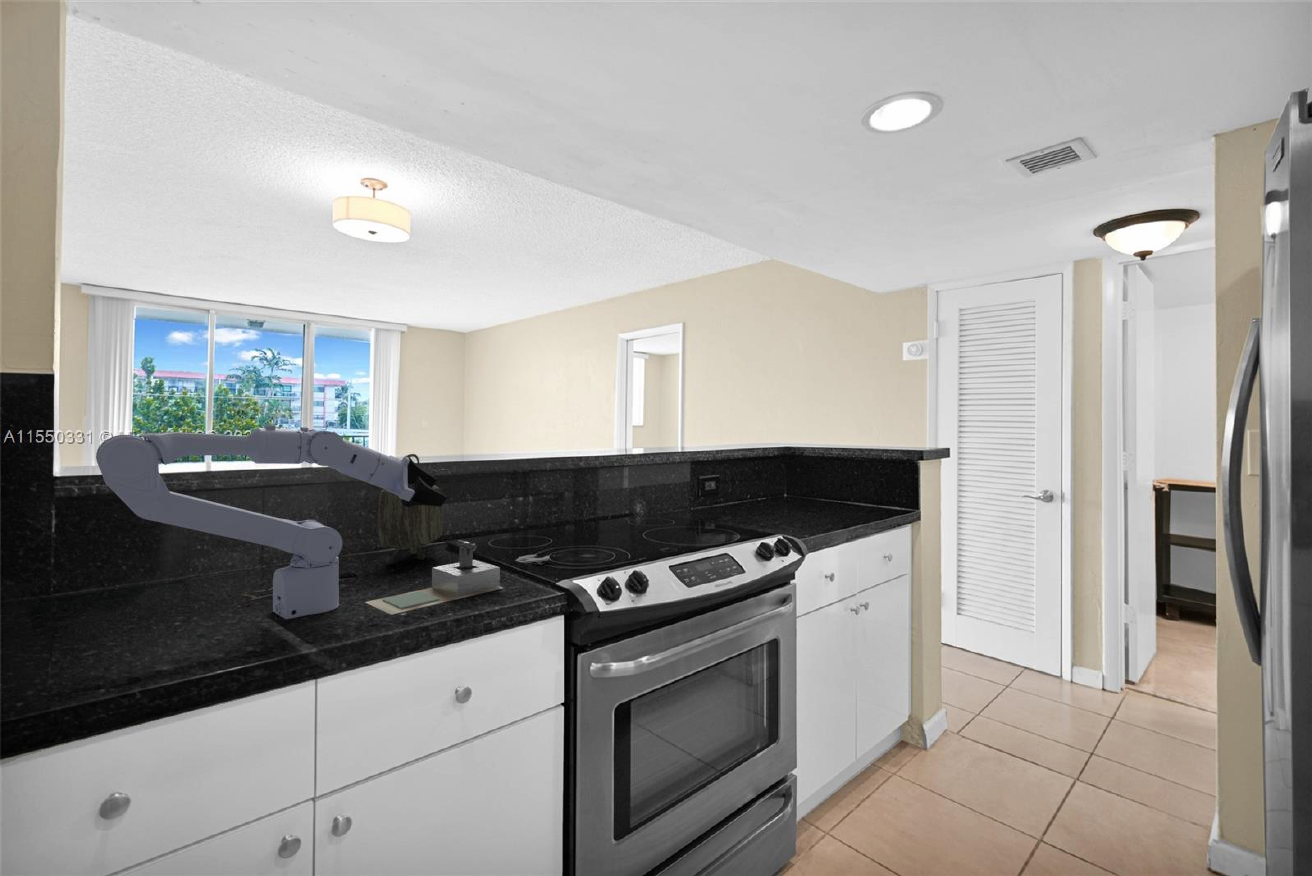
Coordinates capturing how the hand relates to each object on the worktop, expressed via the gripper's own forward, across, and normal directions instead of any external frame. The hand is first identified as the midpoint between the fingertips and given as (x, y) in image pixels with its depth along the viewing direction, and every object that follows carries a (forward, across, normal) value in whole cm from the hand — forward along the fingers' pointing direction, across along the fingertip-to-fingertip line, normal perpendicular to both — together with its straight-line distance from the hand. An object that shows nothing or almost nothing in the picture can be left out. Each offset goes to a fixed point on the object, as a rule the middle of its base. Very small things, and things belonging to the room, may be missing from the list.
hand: (438, 492), depth 120 cm
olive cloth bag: (+14, +21, +25) cm, 35 cm away
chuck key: (+9, -10, +11) cm, 18 cm away
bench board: (+5, -13, +15) cm, 20 cm away
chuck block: (+10, -11, +12) cm, 19 cm away
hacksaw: (-10, +7, +31) cm, 33 cm away
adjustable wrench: (+24, +3, +13) cm, 28 cm away
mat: (0, -14, +16) cm, 21 cm away
